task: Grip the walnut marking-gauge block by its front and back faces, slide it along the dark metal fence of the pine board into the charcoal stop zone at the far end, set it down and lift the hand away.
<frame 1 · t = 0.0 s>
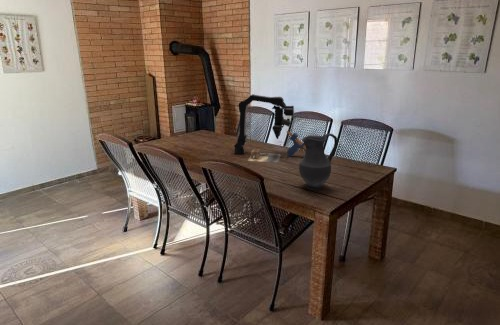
hand: (278, 137, 242), 15 cm above the table, tool pointing down, fingers open, 9 cm apart
pitcher: (316, 187, 192), on the table
glue gun: (302, 157, 247), on the table
board: (264, 160, 239), on the table
gauge: (255, 157, 241), point 1 cm above the table, touching board
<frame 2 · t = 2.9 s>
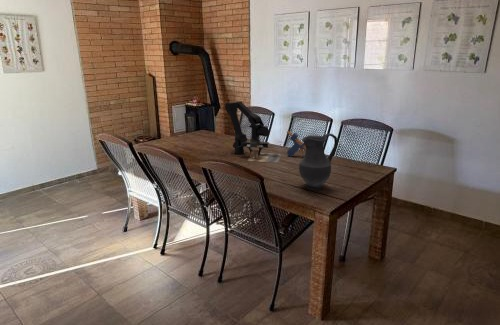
hand: (255, 156, 241), 3 cm above the table, tool pointing down, fingers closed on gauge, 4 cm apart
gauge: (255, 157, 241), point 1 cm above the table, touching board, gripper
everything else where it was.
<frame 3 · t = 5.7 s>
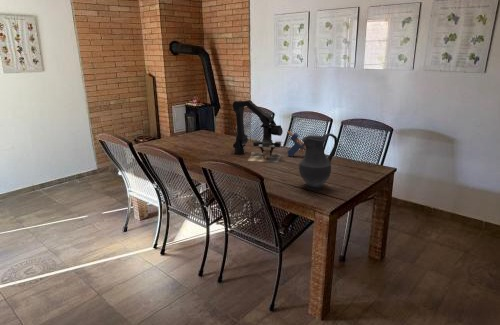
hand: (267, 155, 239), 3 cm above the table, tool pointing down, fingers closed on gauge, 4 cm apart
gauge: (267, 157, 239), point 2 cm above the table, touching gripper
everything else where it was.
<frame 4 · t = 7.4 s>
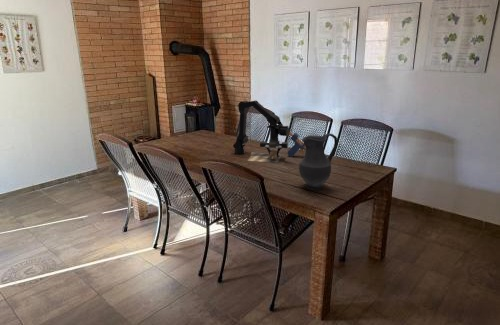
hand: (273, 156, 238), 3 cm above the table, tool pointing down, fingers closed on gauge, 4 cm apart
gauge: (273, 158, 239), point 2 cm above the table, touching gripper
everything else where it was.
when the fingers open (3 cm above the table, at t = 8.3 s): gauge stays where it is, resting on board.
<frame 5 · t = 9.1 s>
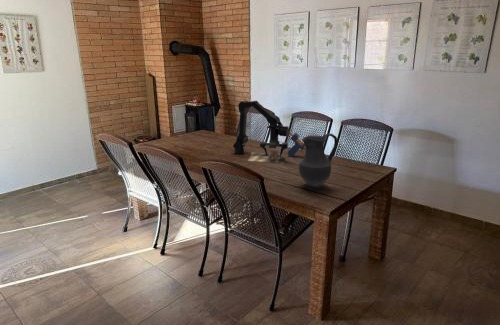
hand: (273, 157, 238), 3 cm above the table, tool pointing down, fingers open, 9 cm apart
gauge: (273, 158, 239), point 1 cm above the table, touching board
everything else where it was.
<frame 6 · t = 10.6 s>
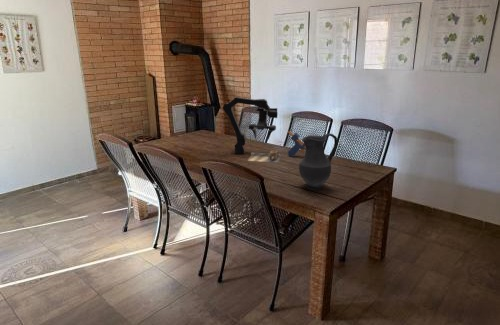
hand: (262, 139, 246), 13 cm above the table, tool pointing down, fingers open, 9 cm apart
nothing on the table moved.
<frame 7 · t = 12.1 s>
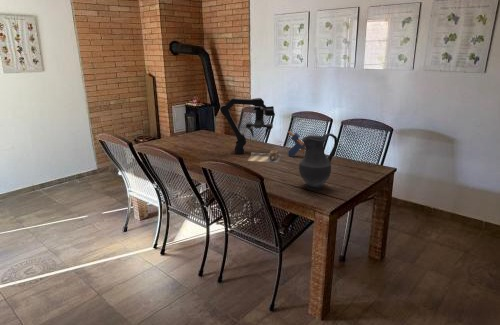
hand: (259, 137, 249), 13 cm above the table, tool pointing down, fingers open, 9 cm apart
at the end: gauge 0.4 cm from the target spot on the board, point 1.5 cm above the board's base; gauge tilted 0°; the gripper is holding nothing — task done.
